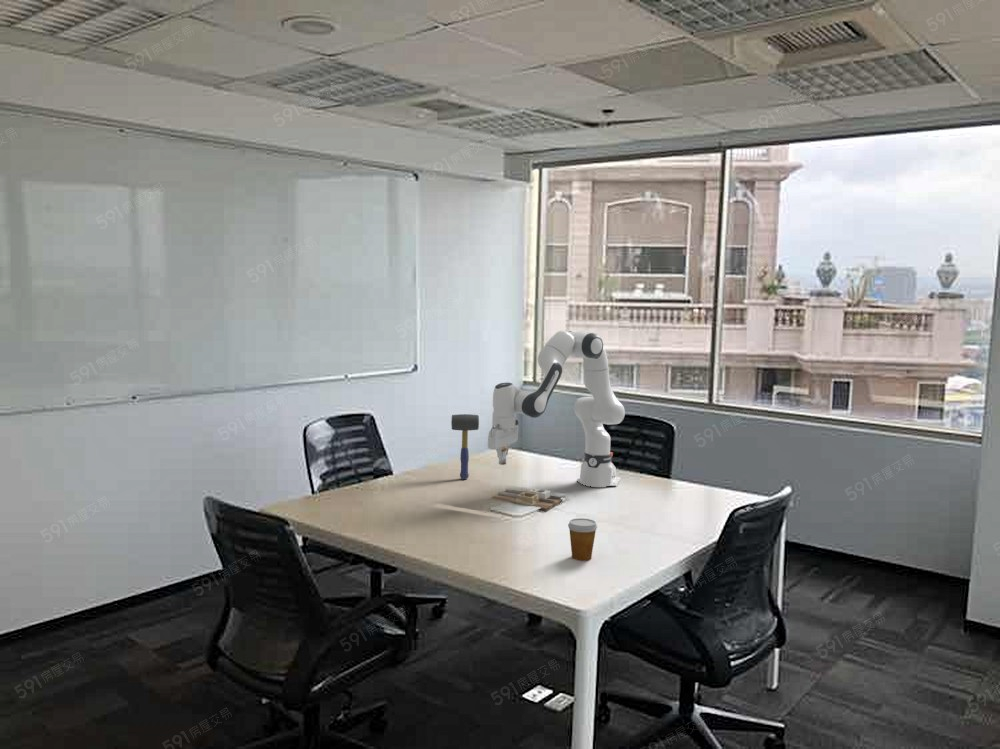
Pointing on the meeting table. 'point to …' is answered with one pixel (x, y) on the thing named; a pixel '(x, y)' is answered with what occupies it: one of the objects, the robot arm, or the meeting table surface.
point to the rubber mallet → (465, 437)
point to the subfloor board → (511, 497)
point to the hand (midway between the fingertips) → (502, 456)
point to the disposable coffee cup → (582, 538)
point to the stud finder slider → (543, 493)
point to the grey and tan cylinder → (503, 460)
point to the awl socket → (527, 498)
